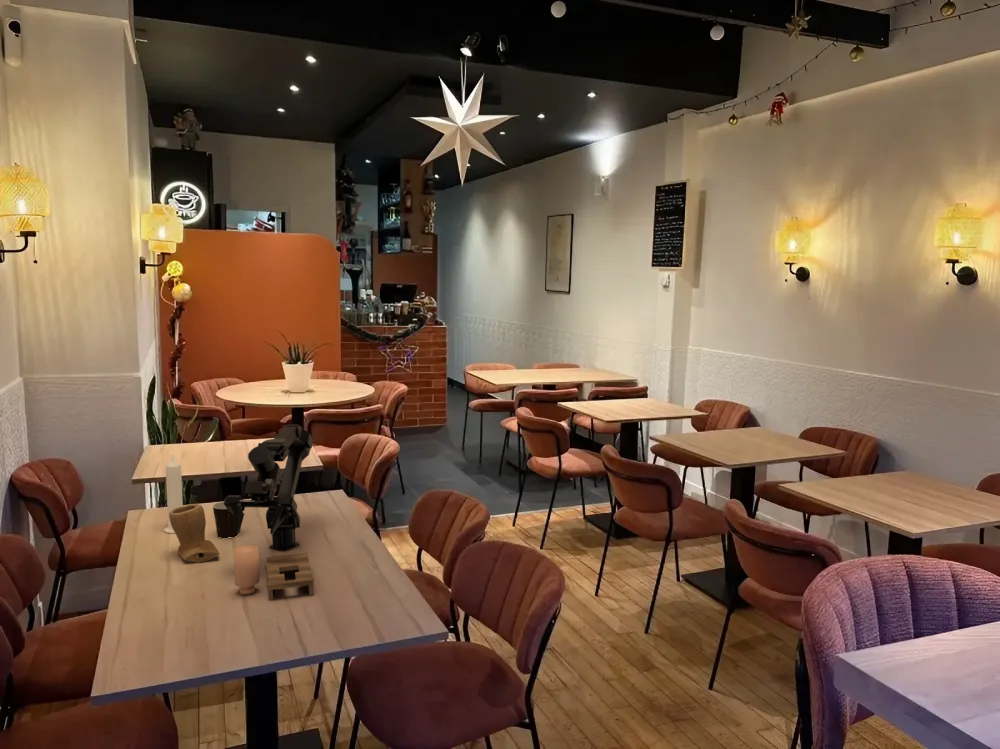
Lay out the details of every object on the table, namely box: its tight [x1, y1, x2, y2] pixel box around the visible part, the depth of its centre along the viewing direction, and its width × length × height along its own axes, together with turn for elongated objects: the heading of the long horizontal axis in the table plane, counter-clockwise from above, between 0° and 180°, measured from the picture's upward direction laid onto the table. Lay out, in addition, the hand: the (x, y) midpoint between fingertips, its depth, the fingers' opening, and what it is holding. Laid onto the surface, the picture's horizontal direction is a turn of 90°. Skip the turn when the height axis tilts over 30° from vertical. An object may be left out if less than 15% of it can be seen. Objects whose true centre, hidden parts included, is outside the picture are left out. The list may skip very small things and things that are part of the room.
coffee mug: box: [212, 500, 239, 539], centre depth 225 cm, size 12×9×10 cm
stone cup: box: [169, 503, 220, 563], centre depth 209 cm, size 15×12×15 cm
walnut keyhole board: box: [266, 552, 314, 601], centre depth 191 cm, size 20×11×4 cm, turn 19°
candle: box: [163, 454, 184, 533], centre depth 229 cm, size 7×7×25 cm
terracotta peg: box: [233, 544, 260, 595], centre depth 185 cm, size 6×6×12 cm
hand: (254, 533), depth 191 cm, fingers open, 9 cm apart
